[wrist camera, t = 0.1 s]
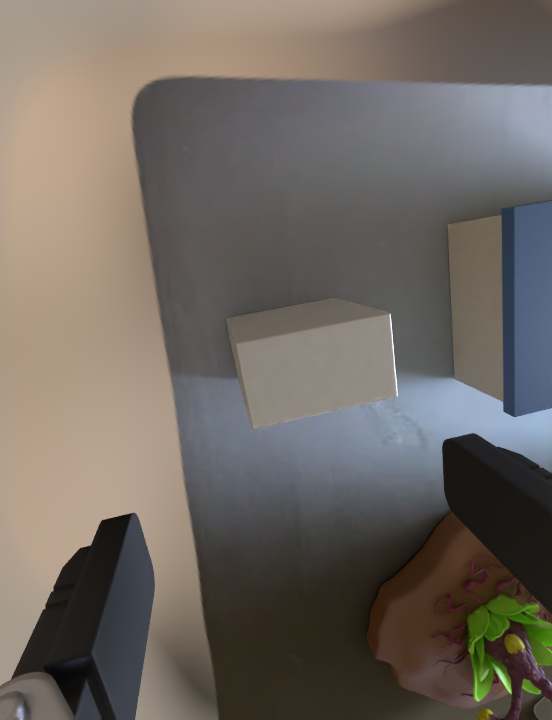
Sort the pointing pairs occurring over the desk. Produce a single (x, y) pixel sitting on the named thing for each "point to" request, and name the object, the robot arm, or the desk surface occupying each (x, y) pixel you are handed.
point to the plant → (462, 626)
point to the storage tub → (504, 305)
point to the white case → (312, 359)
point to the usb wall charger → (543, 709)
